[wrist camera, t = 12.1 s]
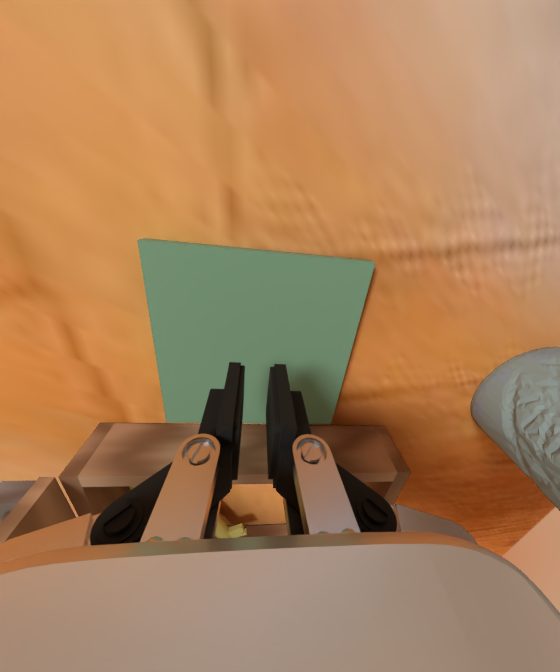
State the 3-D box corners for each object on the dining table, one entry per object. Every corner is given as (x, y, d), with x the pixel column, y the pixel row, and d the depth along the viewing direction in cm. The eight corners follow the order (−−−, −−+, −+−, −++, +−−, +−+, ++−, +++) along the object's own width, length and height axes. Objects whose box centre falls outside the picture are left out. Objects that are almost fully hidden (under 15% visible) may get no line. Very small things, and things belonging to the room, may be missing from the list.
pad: (369, 260, 13) (375, 262, 13) (328, 416, 19) (331, 424, 18) (144, 238, 12) (137, 239, 11) (170, 413, 17) (166, 422, 17)
